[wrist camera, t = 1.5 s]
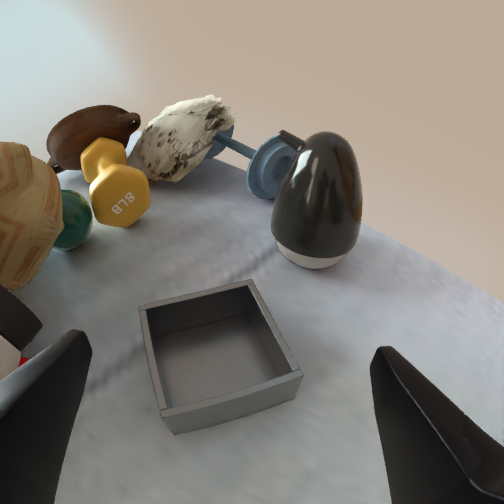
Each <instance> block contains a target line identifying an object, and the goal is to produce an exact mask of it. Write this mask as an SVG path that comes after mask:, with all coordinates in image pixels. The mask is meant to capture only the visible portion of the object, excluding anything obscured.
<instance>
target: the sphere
mask: <svg viewBox="0 0 504 504" xmlns="http://www.w3.org/2000/svg"><path fill="white" fill-rule="evenodd" d="M61 196H62V204H63V205H62V220H63V223H64V229H63V230H62V232H61V233H60V234H59V235H58V237H57V238H56V240H55V242H54V244H53V246H52V248H54V249H56V250H61V251H66V250H71V249H74V248H76V247H78V246H80V245H81V244H82V243H83V242H84V241H85V240H86V238H87V237H88V235H89V233H90V231H91V228H92V222H93V217H92V211H91V208H90V205H89V203H88V202H87V201H86V199H85V198H84V197H83V196H82V195H81V194H79V193H77V192H75V191H72V190H61Z"/></svg>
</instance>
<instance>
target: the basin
mask: <svg viewBox="0 0 504 504" xmlns="http://www.w3.org/2000/svg"><path fill="white" fill-rule="evenodd" d="M138 308H139V315H140V321H141V327H142V333H143V338H144V344H145V349H146V354H147V359H148V364H149V369H150V373H151V378H152V382H153V387H154V391H155V395H156V399H157V403H158V407H159V410H160V415H161V418H162V420H163V421H164V422H165V424H166V425H167V426H168V428H169V429H170V430H171V432H172V433H173V434H174V435H177V434H181V433H186V432H190V431H194V430H198V429H202V428H206V427H209V426H213V425H217V424H220V423H224V422H227V421H230V420H234V419H237V418H240V417H243V416H246V415H250V414H253V413H256V412H259V411H262V410H264V409H267V408H270V407H273V406H276V405H279V404H281V403H284V402H287V401H289V400H292V399H294V398H295V396H296V393H297V391H298V388H299V386H300V384H301V381H302V379H303V376H304V375H303V373H302V371H301V369H300V367H299V366H298V364H297V362H296V360H295V358H294V356H293V355H292V353H291V351H290V349H289V347H288V345H287V344H286V342H285V340H284V338H283V336H282V334H281V332H280V331H279V329H278V327H277V325H276V323H275V321H274V319H273V318H272V316H271V314H270V312H269V310H268V308H267V306H266V305H265V303H264V301H263V299H262V297H261V295H260V293H259V292H258V290H257V288H256V286H255V284H254V282H253V280H252V279H249V280H245V281H241V282H237V283H233V284H229V285H225V286H220V287H216V288H212V289H208V290H204V291H200V292H195V293H191V294H187V295H183V296H178V297H174V298H170V299H166V300H161V301H157V302H152V303H148V304H144V305H139V306H138Z"/></svg>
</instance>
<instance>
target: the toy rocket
mask: <svg viewBox="0 0 504 504" xmlns="http://www.w3.org/2000/svg"><path fill="white" fill-rule="evenodd" d="M42 326H43V325H42V323H41V322H40V320H39V319H38V318H37V317H36V316H35V315H34V314H33V313H32V312H31V311H30V310H29V309H28V308H27V307H26V306H25V305H24V304H23V303H22V302H21V301H20V300H18V299H17V298H16V297H15V296H14V295H13V294H11V293H10V292H9V291H8V290H6V289H5V288H4V287H2V286H1V285H0V381H1V380H2V379H4V378H5V377H6V376H8V375H9V374H10V373H12V372H13V371H14V370H16V369H17V368H19V367H20V366H21V365H23V364H24V363H26V362H27V361H28V360H29V359H27V358H26V357H23V358H21V353H20V351H18V350H17V349H19V350H22V349H23V348H24V347H25V346H26V345H27V344H28V343H30V342H31V341H32V339H33V338H34V337H35V335H36V334H37V333H38V332H39V330H40V329H41V328H42Z"/></svg>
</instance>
